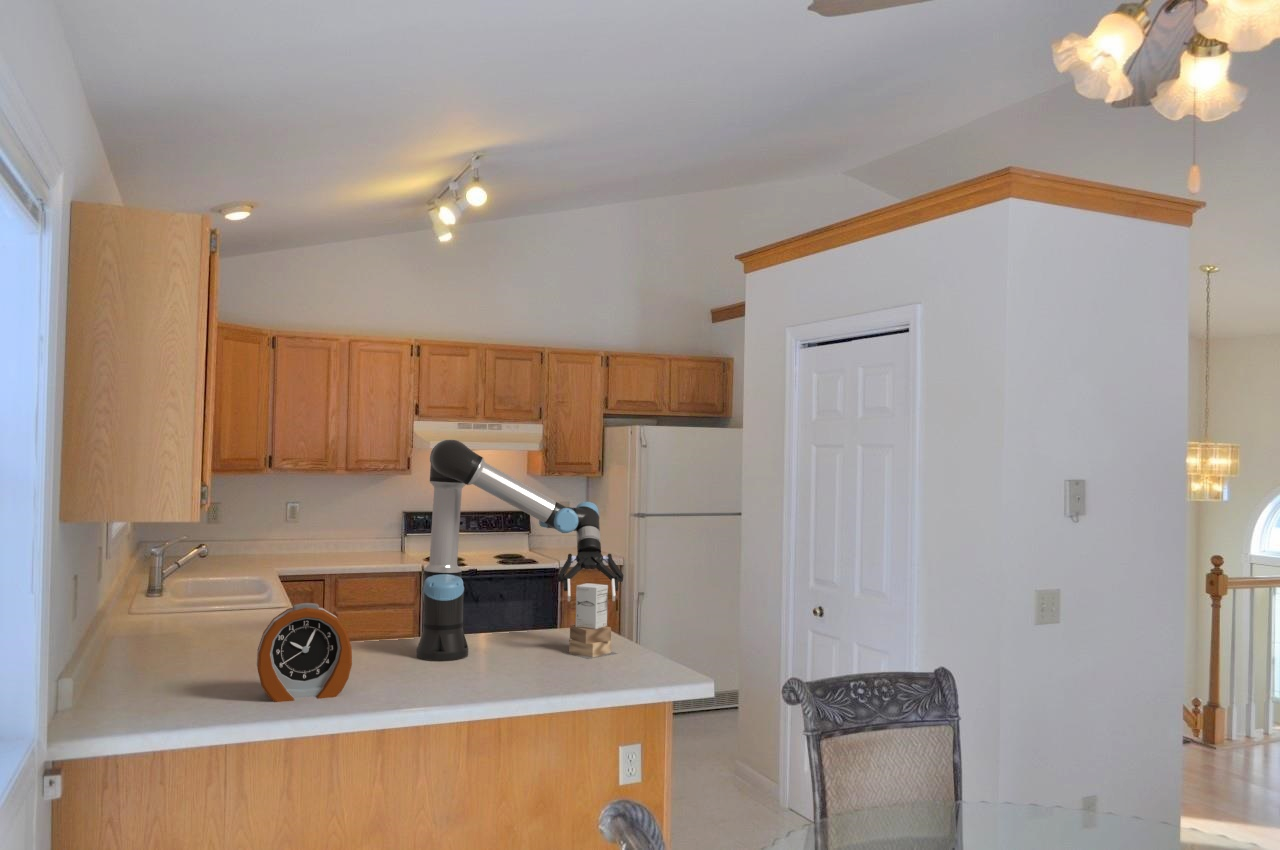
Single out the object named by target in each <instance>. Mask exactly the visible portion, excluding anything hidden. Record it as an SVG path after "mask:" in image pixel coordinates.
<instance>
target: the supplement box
mask: <svg viewBox="0 0 1280 850" xmlns="http://www.w3.org/2000/svg"><path fill="white" fill-rule="evenodd" d="M608 590H609V585H608V584H601V583H600V584H599V583H590V582H587V583H586V582H585V583H582V584H577V585H576V593H575V595H576V596H575V597H576V598H575V625H576V627H584V628H592V629H598V628H601V627H604V626H607V627H608V599H609V598H608Z"/></svg>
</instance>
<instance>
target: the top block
mask: <svg viewBox="0 0 1280 850" xmlns="http://www.w3.org/2000/svg"><path fill="white" fill-rule="evenodd" d="M569 639H570V640H575V641H578V642H581V643H585V644H589V643H597V642H605V641H611V642H612V627H611V626H608V625H607V626H604V627H601V628H598V629H592V628H584V627H576V624H574V625H570V626H569Z"/></svg>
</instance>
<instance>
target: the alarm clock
mask: <svg viewBox="0 0 1280 850" xmlns="http://www.w3.org/2000/svg"><path fill="white" fill-rule="evenodd" d="M352 649H353V648H352V645H351V642H350V637H349V633H348V631H347V630H346V629H345V627H344V626H343V624H342V622H341V621H340V620H339V619H338V617H337V615H335V614H334V613H332V612H331V611H329V610H327V609H325V608H324V607H322V606H320V605H319V604H318V603H314V602H313V603H312V602H302V603H297V604H293V607H289V608H286V609H285V610H284V611H282V612H281V613H279V614H278V615H277V616H275V617H273V619H271V621H270V623H268V625H267V627H266V628H265V629H264V631H263V633H262V635H261V638H260V642H259V645H258V647H257V654H256V655H257V657H256V668H257V674H258V677H259V681H260V684H261V687H262V689H263V690H264V692H265V694H266V695H267V697H268V698H269V699H270V700H272V701H273V702H274V703H283V702H294V701H295V699H300V698H310V697H311V698H312V697H313V698H314V697H316V699H317V700H319V699H330V698H336V697H337V696H338V695H339V694H341V692H342V690H343V689H344V687H345V685H346V683H347V682H348V680H349V677H350V672H351V671H352V667H353V666H352V665H353V651H352Z"/></svg>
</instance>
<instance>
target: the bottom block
mask: <svg viewBox="0 0 1280 850" xmlns="http://www.w3.org/2000/svg"><path fill="white" fill-rule="evenodd" d="M568 649H569V651H568V652H569V653H570V654H576V655H581V656H587V657H596V656H600V655H604V654H608V653H611V652H612V640H611V641H605V642H597V643H589V644H585V643H581V642H578V641H575V640H572V639H570V640H569V647H568ZM570 654H569V655H570Z"/></svg>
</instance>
